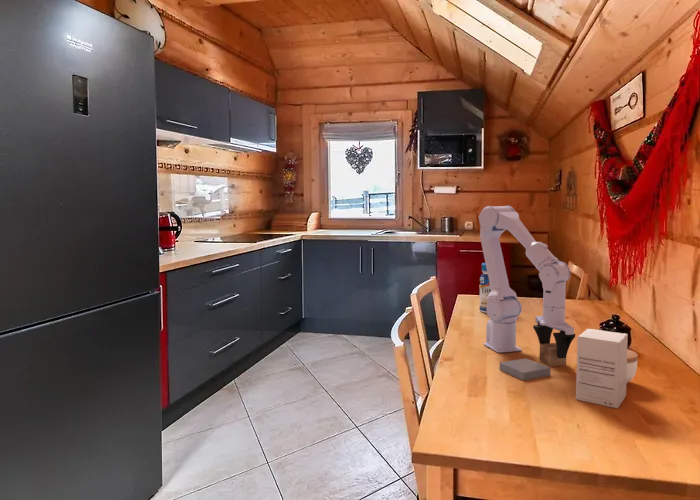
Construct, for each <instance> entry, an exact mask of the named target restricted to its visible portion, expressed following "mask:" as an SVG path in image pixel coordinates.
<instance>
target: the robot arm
mask: <svg viewBox="0 0 700 500" xmlns="http://www.w3.org/2000/svg"><path fill="white" fill-rule="evenodd" d="M478 220H479V226H480V229H479V239H480V243H481V248H482V253H483V258H484V261H485V262H484V263H486V267H487V272H488V277H489V282H490V286H491V292H490V294H489V295H488V296H487V298H486V299H487V313H486V314H487V316H488V317H489V320H488V321H487V323H486V325H485V326H486V327H485V328H486V329H485V330H486V331H485V332H486V334H485V335H486V337H485V339H486V340H485V341H486V342H484V343H483V345H484V346H485V347H488V348H489V349H491V350H493V351H495V352H497V353H510V352H521V351H523V350H522V348H520V347H519V346H517V321H518V317H519V316H520V315H521V314H522V310H523V309H522V308H523V306H522V303H521V301H520V300H519V298H518V296H517V293H516V292H515V290H513V289H512V288H511V287H510V283H509V278H508V274H507V270H506V264H505V261H504V255H503V252H502V247H501V242H500V237H501V235H502V234H503V233H504V232H505V231H508V232H509V233H511V235H513V237H514V238H515V239H516V240H517V241H518V242H519V244H521V245H522V247H524V249H525V255H526V257H527V259H528V260H529V261H530V262H531V263H532V264H533V265H534V267H535V268H536V269H537V270H538V278H539V279H540V281H541V284H542V289H543V291H542V292H543V293H542V295H543V296H542V297H543V299H542V302H543V303H542V315H536V316H535V319H534V321H535V324H536V325H535V324H534V325H533V330H534V332H535V334H536V335H537V339H538V343H539V345H540V344H548V343H551V338H552V337H551V336H552V335H553V337H554V341H555V343H556V346H557V356H558V358H566V359H567V355H568V351H569V349H570V346H571V344H572V342H573V341H574V339H575V338H576V333H575V327H574V326H572V325H570V324H568V323H567V322H566V293H567V291H566V290H567V287H566V285H567V281H568V280H569V279H570V278H571V269H570V267H569V266H568V264H567V263H566V262H564V261H561V260H559V258H557V256H555V255H554V254H553V253H552V252H551V251H550V249H548V247H549V246H548V245H547V244H546V243H543V242H542V241H536V240H535V238H534V236H532V234H531V233H530V232H529V230H528V228H527V227H526V226H525V225H524V223H523V221H522V220H521V219H520V215H519V213H518V212H517V211H516V210H515V209H514V207H512V206H511V205H503V206H502V205H500V206H499V205H497V206H492V205H486V206H485V207H483V209H482V210H481V212H480V213H479V215H478ZM553 330H556V331H558V332H553Z"/></svg>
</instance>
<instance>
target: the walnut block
mask: <svg viewBox="0 0 700 500" xmlns="http://www.w3.org/2000/svg"><path fill="white" fill-rule="evenodd" d="M538 360H539V361H538V362H540V363H541V364H543V365H545V366H547V367H550V368H552V367H559V366H562V367H563V366H566V365H567V357H566V358H558V356H557V346H556V342H550V343H548V344H540V343H539V359H538Z"/></svg>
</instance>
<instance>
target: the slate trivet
mask: <svg viewBox="0 0 700 500" xmlns="http://www.w3.org/2000/svg"><path fill="white" fill-rule="evenodd" d="M499 371H501V372H503V373H506V374H507V375H510V376H512V377H514V378H516V379H519V380H521V381H528V380H534V379H538V378H544V377H549V376H551V367H550V366H548V365H545V364H543V363H539V362H536V361H534V360H531V359H529V358H526V357H525V358H520V359H514V360H508V361H502V362H499Z"/></svg>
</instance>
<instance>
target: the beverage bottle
mask: <svg viewBox="0 0 700 500" xmlns="http://www.w3.org/2000/svg"><path fill="white" fill-rule="evenodd" d="M481 272H482V273H481V275H480V277H479V282H480V283H479V286H478V287H479V288H478V289H479V312H480V313H485V314H487V299H486V298H487V296H488V295H489V294H490V292H491V286H490V282H489V277H488V272H487V267H486V263H485V262H482V263H481Z"/></svg>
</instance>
